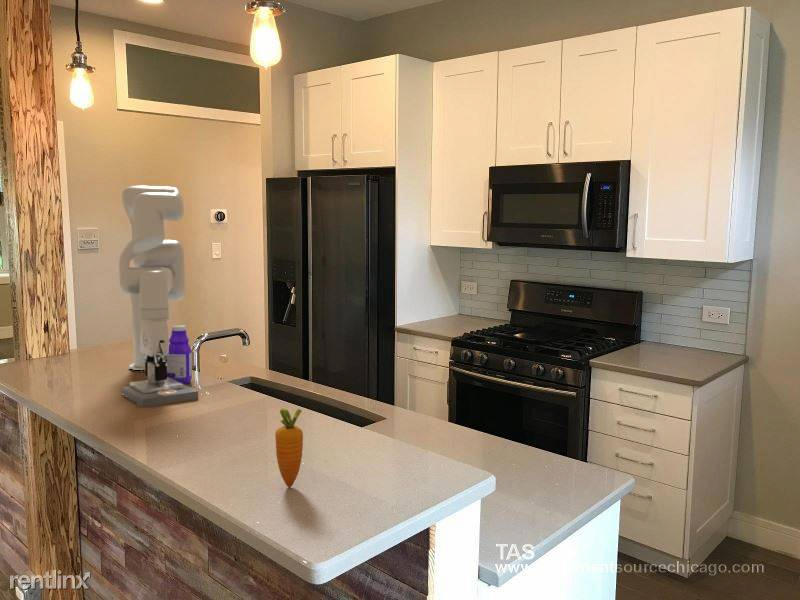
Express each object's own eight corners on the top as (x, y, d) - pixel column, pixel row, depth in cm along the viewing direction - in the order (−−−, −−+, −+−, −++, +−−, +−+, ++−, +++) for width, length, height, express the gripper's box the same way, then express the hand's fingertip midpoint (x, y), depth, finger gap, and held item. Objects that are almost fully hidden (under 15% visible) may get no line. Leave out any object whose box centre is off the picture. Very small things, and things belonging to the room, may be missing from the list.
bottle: (195, 380, 205) (193, 324, 204) (187, 385, 200) (186, 327, 198) (172, 379, 206) (171, 324, 204) (164, 384, 201) (162, 326, 199)
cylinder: (145, 383, 187) (145, 361, 187) (161, 380, 190) (160, 360, 190) (151, 385, 184) (150, 364, 183) (167, 383, 187) (166, 362, 186)
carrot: (304, 482, 125) (304, 403, 124) (301, 492, 120) (301, 411, 119) (277, 482, 125) (277, 403, 123) (273, 492, 120) (273, 411, 118)
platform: (129, 385, 188) (129, 382, 188) (168, 380, 195) (168, 377, 195) (143, 393, 180) (143, 390, 180) (183, 387, 187) (183, 384, 187)
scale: (122, 394, 187) (121, 385, 187) (174, 387, 197) (174, 378, 197) (143, 407, 174) (142, 397, 174) (198, 398, 184) (198, 389, 184)
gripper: (130, 312, 189) (132, 374, 191) (152, 318, 176) (153, 385, 178) (156, 310, 194) (158, 370, 196) (180, 316, 181) (181, 381, 183)
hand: (156, 377), depth 187 cm, fingers open, 6 cm apart
